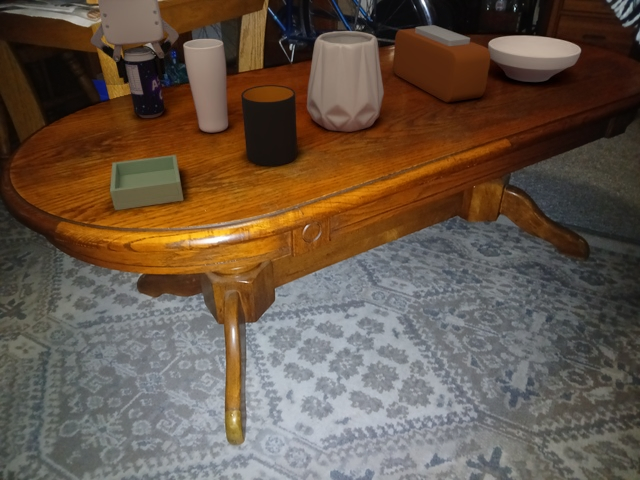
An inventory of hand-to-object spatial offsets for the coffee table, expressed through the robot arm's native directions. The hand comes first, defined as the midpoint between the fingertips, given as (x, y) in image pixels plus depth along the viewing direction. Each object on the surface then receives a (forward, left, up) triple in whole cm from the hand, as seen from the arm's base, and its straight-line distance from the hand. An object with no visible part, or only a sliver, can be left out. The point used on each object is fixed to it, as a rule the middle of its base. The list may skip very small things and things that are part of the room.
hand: (143, 78), depth 97 cm
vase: (+35, -15, -7) cm, 39 cm away
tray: (-1, -32, -7) cm, 33 cm away
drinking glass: (+11, -11, -7) cm, 17 cm away
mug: (+18, -24, -7) cm, 31 cm away
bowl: (+84, -2, -7) cm, 84 cm away
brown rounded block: (+61, -1, -7) cm, 61 cm away
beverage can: (0, 0, -7) cm, 7 cm away
